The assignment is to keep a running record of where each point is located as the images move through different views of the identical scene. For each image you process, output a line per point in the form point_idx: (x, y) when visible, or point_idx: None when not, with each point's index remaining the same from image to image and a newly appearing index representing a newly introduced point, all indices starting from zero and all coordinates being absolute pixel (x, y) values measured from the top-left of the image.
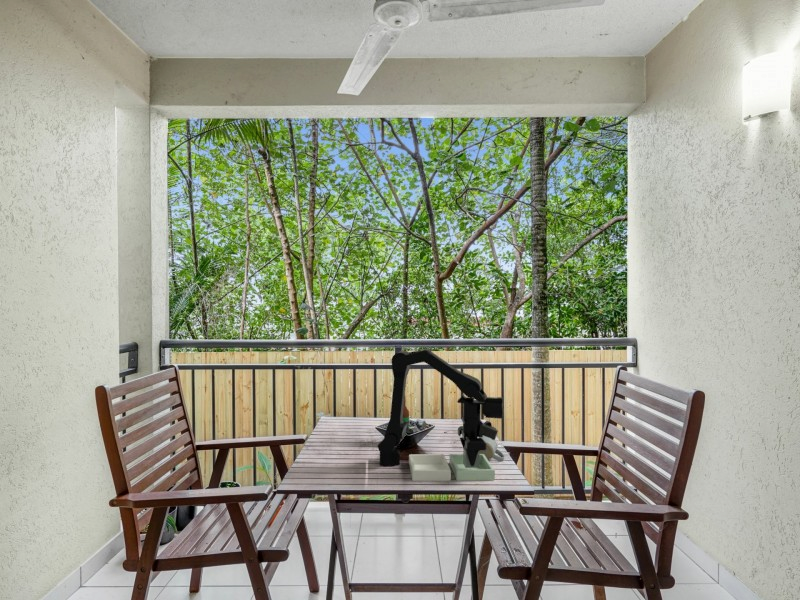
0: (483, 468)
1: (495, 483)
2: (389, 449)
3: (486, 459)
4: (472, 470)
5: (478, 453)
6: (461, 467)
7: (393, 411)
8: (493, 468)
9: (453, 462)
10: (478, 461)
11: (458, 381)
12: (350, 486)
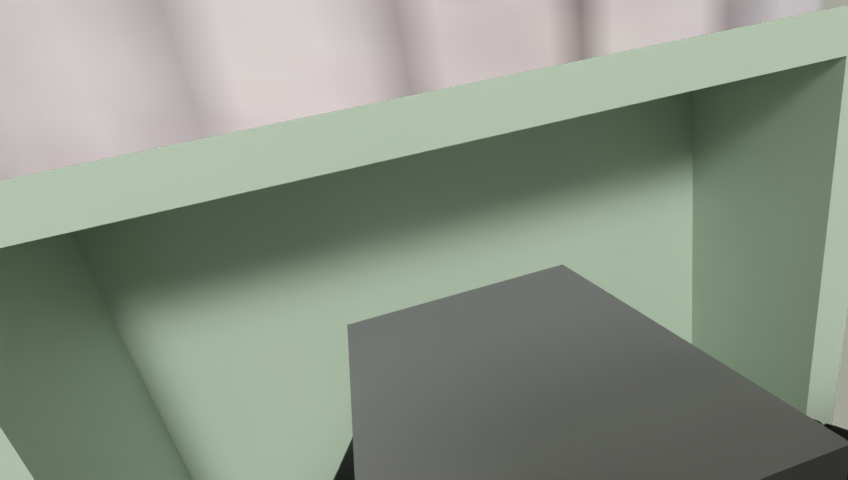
0: (295, 184)
1: (709, 31)
2: None
3: (288, 147)
4: (841, 352)
5: (808, 442)
6: (334, 458)
7: None
8: (812, 13)
9: None
10: (633, 319)
11: None
12: None
